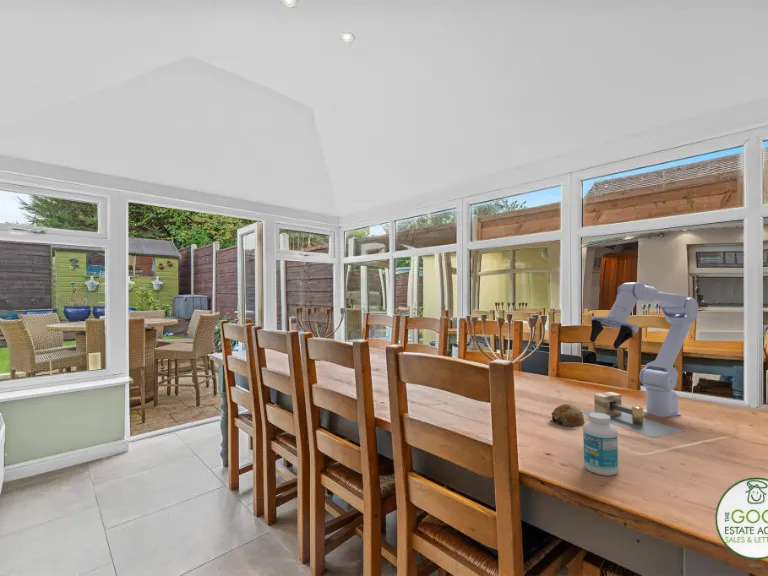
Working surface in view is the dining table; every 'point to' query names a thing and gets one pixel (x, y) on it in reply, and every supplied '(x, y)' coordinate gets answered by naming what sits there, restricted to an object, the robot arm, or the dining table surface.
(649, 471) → the dining table surface
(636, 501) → the dining table surface
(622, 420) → the base board
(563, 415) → the bread roll
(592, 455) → the pill bottle
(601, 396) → the eye block
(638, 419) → the hook rod
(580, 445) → the dining table surface
